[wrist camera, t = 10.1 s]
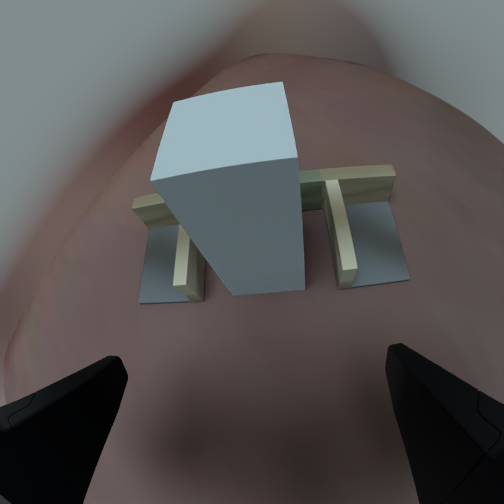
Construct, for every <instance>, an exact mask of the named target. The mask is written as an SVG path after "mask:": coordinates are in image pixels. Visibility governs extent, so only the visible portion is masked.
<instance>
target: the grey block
mask: <svg viewBox="0 0 504 504" xmlns="http://www.w3.org/2000/svg"><path fill="white" fill-rule="evenodd" d="M150 182H151V183H152V185H153V186H154V187H155V189H156V190H157V192H158V193H159V195H160V196H161V198H162V199H163V200H164V202H165V203H166V205H167V206H168V208H169V209H170V210H171V212H172V213H173V215H174V216H175V218H176V219H177V220H178V222H179V223H180V225H181V226H182V227H183V229H184V230H185V232H186V233H187V234H188V236H189V237H190V239H191V240H192V241H193V243H194V244H195V245H196V247H197V248H198V250H199V251H200V252H201V254H202V255H203V256H204V258H205V259H206V260H207V262H208V263H209V264H210V266H211V267H212V268H213V270H214V271H215V273H216V274H217V275H218V277H219V278H220V279H221V281H222V282H223V283H224V284H225V286H226V287H227V288H228V290H229V291H230V292H231V294H232V295H233V296H236V295H250V294H263V293H275V292H286V291H297V290H305V266H304V243H303V224H302V207H301V193H300V179H299V167H298V156H297V151H296V145H295V140H294V135H293V130H292V124H291V119H290V115H289V110H288V105H287V100H286V95H285V91H284V86H283V82H276V83H268V84H261V85H254V86H248V87H241V88H236V89H230V90H225V91H220V92H215V93H210V94H206V95H201V96H197V97H193V98H189V99H185V100H181V101H177V102H174V103H173V106H172V109H171V112H170V115H169V118H168V121H167V124H166V127H165V130H164V133H163V137H162V140H161V143H160V147H159V150H158V154H157V157H156V161H155V164H154V168H153V172H152V176H151V180H150Z"/></svg>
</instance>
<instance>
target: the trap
mask: <svg viewBox="0 0 504 504" xmlns="http://www.w3.org/2000/svg"><path fill="white" fill-rule="evenodd" d="M395 178H396V174H395V172H394V169H393V167H392V165H371V166H355V167H341V168H328V169H317V170H307V171H299V179H300V193H301V207H302V211H304V210H314V209H324V210H325V215H326V221H327V226H328V232H329V237H330V243H331V249H332V255H333V261H334V268H335V275H336V282H337V289H338V290H339V289H347V288H355V287H364V286H371V285H379V284H386V283H394V282H401V281H408V280H410V277H409V273H408V269H407V265H406V261H405V257H404V253H403V249H402V245H401V242H400V238H399V235H398V231H397V228H396V225H395V221H394V218H393V215H392V212H391V209H390V206H389V203H388V200H389V197H390V194H391V191H392V187H393V184H394V181H395ZM132 209H133V211H134V212H135V213H136V214H137V215H138V216H139V218H140V219H141V220H142V221H143V222H144V223H145V225H146V226H147V227H148V228H149V235H148V241H147V247H146V253H145V259H144V266H143V273H142V281H141V289H140V297H139V304H156V303H179V302H198V301H204V284H205V263H206V259H205V258H204V256H203V255H202V254H201V252H200V251H199V250H198V248H197V247H196V245H195V244H194V243H193V241H192V240H191V239H190V237H189V236H188V234H187V233H186V232H185V230H184V229H183V227H182V226H181V225H180V223H179V222H178V220H177V219H176V218H175V216H174V215H173V213H172V212H171V210H170V209H169V208H168V206H167V205H166V203H165V202H164V200H163V199H162V198H161V196H160V195H159V193H155V194H150V195H146V196H141V197H136V198H135V199H134V203H133V207H132Z"/></svg>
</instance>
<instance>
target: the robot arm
mask: <svg viewBox="0 0 504 504" xmlns="http://www.w3.org/2000/svg"><path fill="white" fill-rule="evenodd" d="M385 370H386V376H387V380H388V385H389V390H390V395H391V400H392V405H393V409H394V413H395V417H396V420H397V423H398V426H399V430H400V433H401V436H402V439H403V443H404V446H405V449H406V453H407V456H408V460H409V464H410V467H411V471H412V475H413V479H414V483H415V487H416V491H417V495H418V499H419V504H504V404H502V403H500V402H498V401H497V400H495V399H493V398H491V397H490V396H488V395H486V394H484V393H483V392H481V391H478V389H476V388H474V387H473V386H471V385H470V384H468V383H466V382H465V381H463V380H461V379H460V378H458V377H456V376H455V375H453V374H451V373H450V372H448V371H447V370H445V369H443V368H442V367H440V366H438V365H437V364H435V363H433V362H432V361H430V360H428V359H427V358H425V357H424V356H422V355H420V354H419V353H417V352H415V351H414V350H412V349H410V348H409V347H407V346H406V345H404V344H402V343H398V344H392V345H390V346H389V347H388V351H387V358H386V365H385ZM127 381H128V374H127V371H126V369H125V367H124V365H123V362H122V360H121V358H120V357H118V356H107V357H105V358H103V359H101V360H99V361H97V362H95V363H93V364H91V365H89V366H87V367H85V368H83V369H81V370H79V371H77V372H75V373H73V374H71V375H69V376H67V377H65V378H63V379H61V380H59V381H57V382H55V383H53V384H51V385H49V386H47V387H45V388H43V389H41V390H39V391H37V392H36V393H35V392H34V393H32V394H30V395H28V396H26V397H24V398H21V399H19V400H17V401H14V402H12V403H9V404H7V405H4V406H2V407H0V504H83V502H84V499H85V496H86V493H87V490H88V487H89V485H90V482H91V479H92V476H93V474H94V471H95V468H96V466H97V463H98V460H99V458H100V455H101V453H102V450H103V448H104V445H105V443H106V440H107V438H108V435H109V433H110V430H111V428H112V425H113V423H114V420H115V418H116V416H117V413H118V410H119V407H120V404H121V400H122V397H123V394H124V391H125V387H126V384H127Z"/></svg>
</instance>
